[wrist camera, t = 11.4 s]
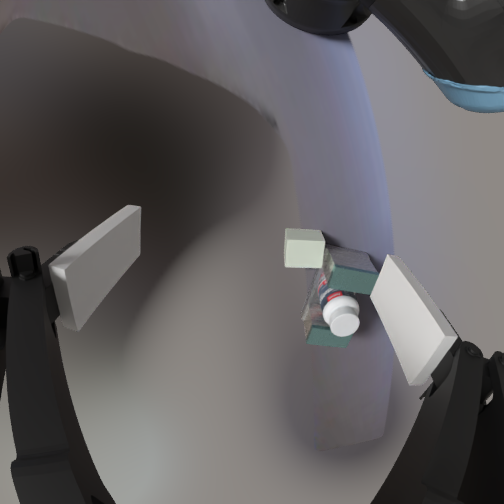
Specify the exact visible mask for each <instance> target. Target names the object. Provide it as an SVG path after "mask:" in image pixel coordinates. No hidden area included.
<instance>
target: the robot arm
mask: <svg viewBox="0 0 504 504" xmlns="http://www.w3.org/2000/svg"><path fill="white" fill-rule="evenodd" d="M265 2H266V3H267V5H268V7H269V8H270V9H271V10H272V11H273V13H274V14H275V15H277V16H278V17H279V18H280V19H282V20H283V21H285V22H286V23H288V24H290V25H291V26H293V27H296V28H298V29H301V30H304V31H307V32H310V33H315V34H323V35H335V34H342V33H346V32H349V31H352V30H354V29H356V28H357V27H359V26H360V25H362V23H364V22H365V21H366V20H367V19H368V18H369V16H370V15H371V14H374V15H375V16H376V17H377V18H378V19H379V20H380V21H381V22H382V23H383V24H384V25H385V26H386V27H387V28H388V29H389V30H390V31H391V32H392V33H393V34H394V35H395V36H396V37H397V39H398V40H399V41H400V42H401V43H402V44H403V45H404V46H405V47H406V49H407V50H408V51H409V52H410V53H411V54H412V56H413V57H414V58H415V59H416V60H417V62H418V63H419V64H420V65H421V67H422V69H423V71H424V73H425V74H426V75H427V76H428V77H429V78H431V79H433V81H434V82H435V83H436V85H437V86H438V87H439V89H440V90H441V91H442V92H443V94H444V95H445V96H446V98H447V99H448V100H449V101H450V102H452V103H453V104H455V105H457V106H459V107H461V108H464V109H466V110H468V111H473V112H479V113H495V112H504V0H265ZM140 222H141V207H139V206H132V205H127V206H126V207H124V208H123V209H121V210H120V211H118V212H117V213H115V214H114V215H113V216H111V217H110V218H108V219H107V220H106V221H104V222H103V223H101V224H100V225H99V226H97V227H96V228H95V229H93V230H92V231H91V232H89V233H88V234H87V235H85V236H84V237H83V238H82V239H80V240H76V241H74V242H71V243H69V244H67V245H66V246H65V247H63V248H62V249H61V251H60V250H59V251H58V252H57V253H56V254H55V255H53V256H52V257H51V258H49V259H48V260H47V261H46V262H45V263H43V264H42V265H41V263H40V258H39V253H38V249H37V248H35V247H32V246H23V247H20V248H17V249H15V250H13V251H12V252H11V253H9V255H8V256H7V260H8V265H9V268H10V273H11V277H3V276H2V274H1V270H0V398H1V393H2V386H3V381H4V375H5V371H6V377H7V392H8V403H9V412H10V419H11V425H12V432H13V437H14V443H15V447H16V453H17V458H16V460H14V461H13V462H12V463H11V474H12V478H13V482H14V486H15V489H16V492H17V496H18V499H19V502H20V504H116V503H115V501H114V500H113V498H112V497H111V495H110V493H109V492H108V491H107V489H106V488H105V486H104V484H103V482H102V481H101V479H100V476H99V474H98V472H97V470H96V468H95V465H94V463H93V460H92V458H91V455H90V453H89V450H88V448H87V445H86V443H85V440H84V437H83V434H82V432H81V428H80V426H79V423H78V419H77V417H76V413H75V410H74V406H73V403H72V399H71V396H70V392H69V388H68V384H67V380H66V375H65V371H64V367H63V362H62V357H61V351H60V346H59V340H58V334H57V327H56V324H55V320H56V319H57V317H58V316H59V315H60V317H61V321H62V324H63V327H66V328H69V329H71V330H74V331H76V332H79V330H80V329H81V328H82V326H83V325H84V323H85V322H86V321H87V320H88V318H89V317H90V316H91V314H92V313H93V312H94V310H95V309H96V308H97V306H98V305H99V304H100V303H101V301H102V300H103V299H104V298H105V296H106V295H107V294H108V292H109V291H110V290H111V289H112V288H113V286H114V285H115V284H116V282H117V281H118V280H119V279H120V277H121V276H122V275H123V274H124V273H125V272H126V270H127V269H128V268H129V267H130V265H131V264H132V263H133V262H134V261H135V260H136V259H137V258H138V256H139V255H140ZM370 298H371V300H372V302H373V304H374V306H375V308H376V310H377V312H378V314H379V316H380V319H381V321H382V323H383V325H384V327H385V329H386V332H387V334H388V336H389V338H390V340H391V343H392V345H393V347H394V350H395V352H396V354H397V356H398V359H399V361H400V364H401V366H402V368H403V371H404V373H405V376H406V378H407V380H408V383H409V385H410V386H415V385H423V384H424V383H425V382H426V380H427V379H428V378H429V377H430V375H431V377H432V378H433V383H432V384H431V385H430V386H429V387H428V388H427V390H426V391H425V392H424V393H423V394H422V396H421V397H420V400H421V399H422V398H423V397H425V399H424V401H423V404H422V406H421V409H420V411H419V414H418V416H417V419H416V421H415V423H414V426H413V428H412V430H411V432H410V434H409V437H408V439H407V441H406V443H405V445H404V447H403V449H402V451H401V453H400V455H399V457H398V458H397V460H396V462H395V464H394V466H393V468H392V470H391V471H390V473H389V475H388V477H387V478H386V480H385V482H384V483H383V485H382V486H381V488H380V490H379V491H378V493H377V494H376V496H375V498H374V499H373V501H372V502H371V504H504V353H502V352H499V351H496V352H495V353H494V354H493V355H492V357H491V358H490V359H486V358H483V354H482V352H481V350H480V349H479V348H478V347H477V346H476V345H474V344H473V343H470V342H467V341H464V342H462V340H461V338H460V337H459V335H458V334H457V332H456V331H455V329H454V328H453V327H452V325H450V322H449V321H448V320H447V318H446V316H445V315H444V313H443V312H442V311H441V310H440V309H439V308H438V307H437V305H436V304H435V303H434V301H433V300H432V299H431V297H430V296H429V294H428V293H427V292H426V291H425V289H424V288H423V286H422V285H421V284H420V283H419V281H418V280H417V279H416V277H415V276H414V275H413V274H412V272H411V271H410V270H409V269H408V267H407V266H406V265H405V264H404V262H403V261H402V260H401V259H400V258H399V257H398V256H394V255H389V254H387V257H386V259H385V262H384V264H383V267H382V269H381V272H380V274H379V277H378V279H377V281H376V284H375V286H374V288H373V291H372V293H371V295H370ZM492 393H493V399H492V400H491V401H490V402H489V404H487V405H486V400H487V399H488V398H489V397H490V396H491V394H492Z"/></svg>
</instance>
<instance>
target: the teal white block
mask: <svg viewBox="0 0 504 504" xmlns="http://www.w3.org/2000/svg"><path fill="white" fill-rule="evenodd" d="M378 277H379V273H378V272H377V270H376V269H375V267H374V266H373V264H372V263H371V261H370V259H369V256H368V254H367V253H366V252H362V251H357V250H352V249H348V248H343V247H338V246H333V245H328V244H325V247H324V255H323V262H322V268H316V271H315V274H314V277H313V280H312V283H311V286H310V289H309V292H308V295H307V298H306V301H305V304H304V307H303V309H302V312H301V318H302V320H304V327H305V335H306V343H307V344H314V345H323V346H332V347H342V348H346V347H347V345H348V343H349V341H350V339H351V337H352V336H353V334H354V333H353V334H351V335H348V336H344V337H340V336H336V335H334V334H333V333H332V331H331V329H330V326H329V325H328V324H327V323H326V322H325V320H324V318H323V314H322V310H321V305H320V301H319V297H318V287H319V285H320V283H321V282H322V281H323V280H324V279H325V278H326V281H327V286H328V288H331V289H337V290H343V291H350V292H354V294H355V293H362V294H368V295H371V293H372V291H373V288H374V286H375V284H376V281H377V279H378Z"/></svg>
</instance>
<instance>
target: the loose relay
mask: <svg viewBox="0 0 504 504" xmlns="http://www.w3.org/2000/svg"><path fill="white" fill-rule="evenodd" d="M324 247H325V239H324V237H323V235H322V232H321V230H306V229H291V228H286V231H285V246H284V260H285V267H299V268H322V262H323V255H324Z"/></svg>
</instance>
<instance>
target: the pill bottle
mask: <svg viewBox="0 0 504 504" xmlns="http://www.w3.org/2000/svg"><path fill="white" fill-rule="evenodd" d="M318 297H319V301H320V305H321V310H322V314H323V318H324V320H325V322H326V323H327V324H328V325H329V326H330V329H331V331H332V333H333V334H334V335H336V336H340V337H344V336H348V335H351V334H353V333H354V332H355V331H356V330H357V329H358V327H359V324H360V321H359V318H358V314H359V305H358V302H357V299H356V297H355V294H354V292H350V291H343V290H337V289H331V288H328V286H327V281H326V278H325V279H324V280H323V281H322V282H321V283H320V285H319V287H318Z"/></svg>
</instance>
